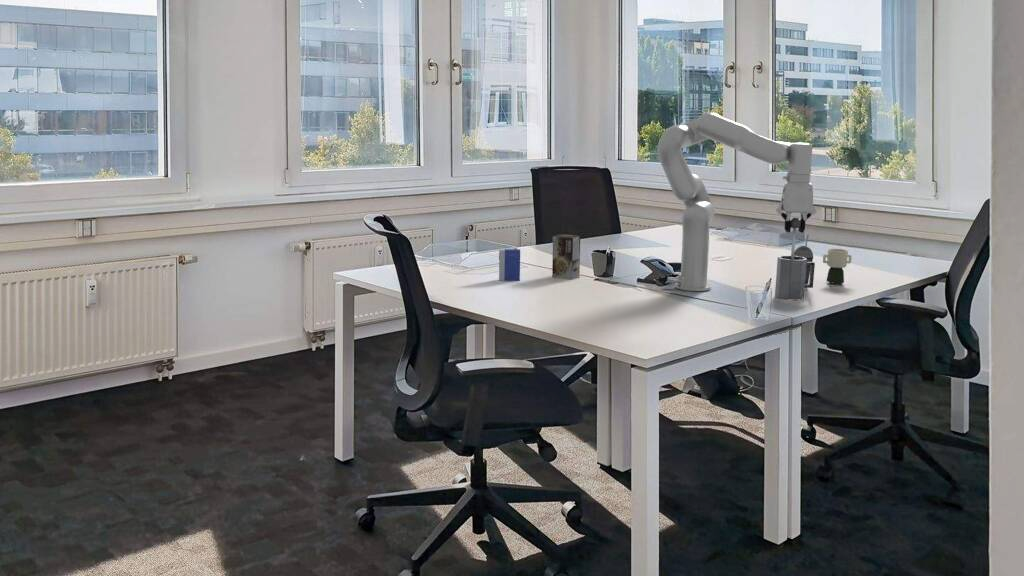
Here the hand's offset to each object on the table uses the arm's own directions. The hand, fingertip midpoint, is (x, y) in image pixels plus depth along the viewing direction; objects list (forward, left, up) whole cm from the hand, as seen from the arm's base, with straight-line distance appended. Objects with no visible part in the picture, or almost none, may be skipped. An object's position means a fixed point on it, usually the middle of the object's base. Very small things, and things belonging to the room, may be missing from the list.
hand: (794, 231), depth 318 cm
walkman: (-98, +27, -24) cm, 104 cm away
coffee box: (-76, +34, -24) cm, 87 cm away
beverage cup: (+10, +17, -23) cm, 31 cm away
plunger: (0, 0, -16) cm, 16 cm away
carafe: (+2, 0, -23) cm, 23 cm away
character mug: (+26, +25, -24) cm, 43 cm away
